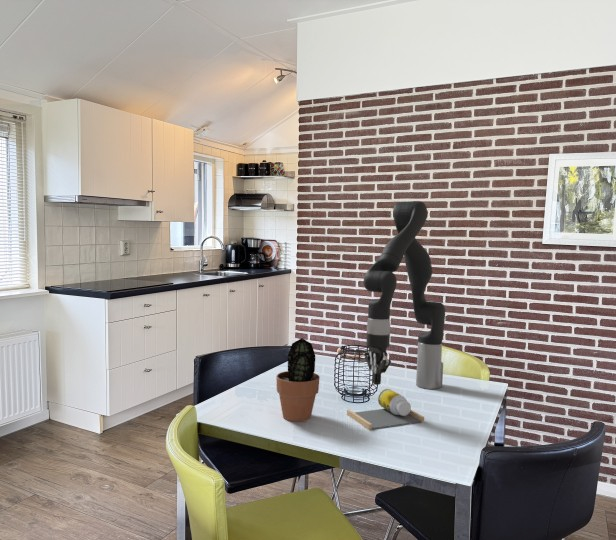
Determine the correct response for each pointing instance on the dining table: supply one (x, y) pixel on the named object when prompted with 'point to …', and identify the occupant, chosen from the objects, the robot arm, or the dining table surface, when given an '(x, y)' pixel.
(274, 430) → the dining table surface
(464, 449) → the dining table surface
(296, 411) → the potted plant
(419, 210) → the robot arm
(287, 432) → the dining table surface
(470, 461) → the dining table surface
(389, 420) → the grey flat rectangular board
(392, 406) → the pill bottle
